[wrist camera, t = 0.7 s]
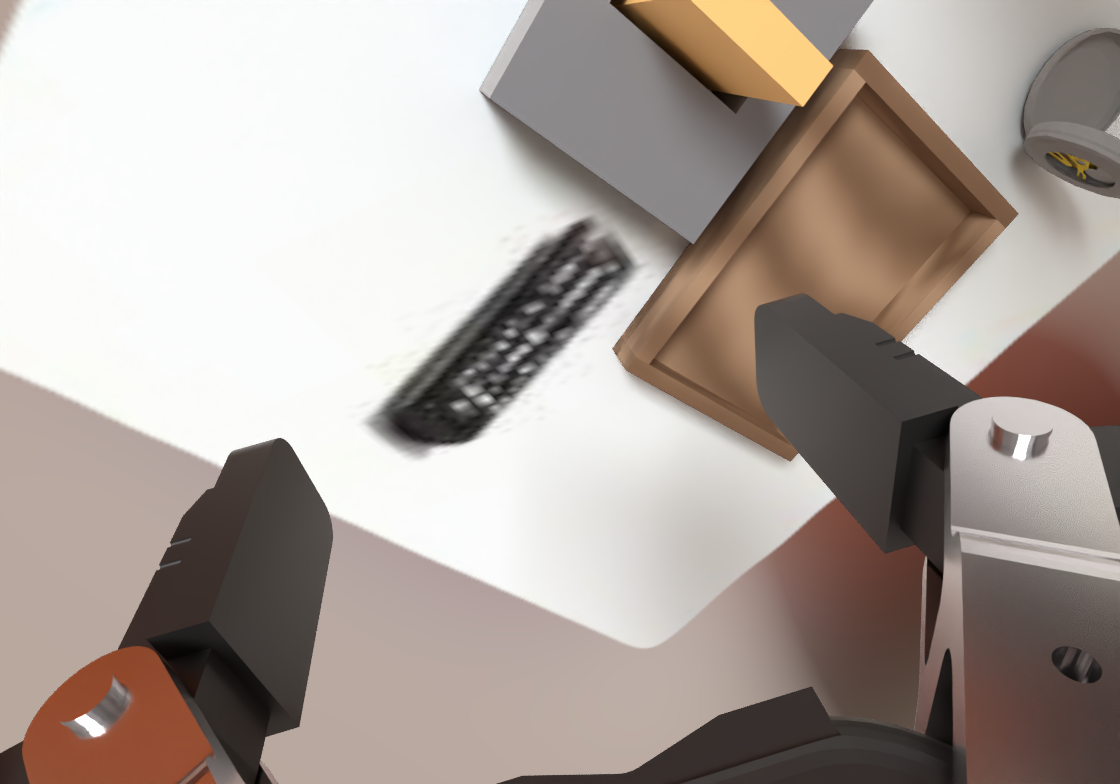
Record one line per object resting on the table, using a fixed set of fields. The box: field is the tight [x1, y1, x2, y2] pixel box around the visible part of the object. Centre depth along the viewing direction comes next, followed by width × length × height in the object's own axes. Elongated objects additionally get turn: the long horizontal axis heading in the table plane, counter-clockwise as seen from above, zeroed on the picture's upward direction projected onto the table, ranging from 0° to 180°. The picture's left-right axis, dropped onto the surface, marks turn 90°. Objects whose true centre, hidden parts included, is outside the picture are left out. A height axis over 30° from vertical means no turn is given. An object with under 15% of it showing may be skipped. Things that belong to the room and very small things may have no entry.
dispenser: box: [479, 0, 873, 244], centre depth 28 cm, size 14×12×5 cm
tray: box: [612, 49, 1018, 461], centre depth 37 cm, size 20×15×3 cm
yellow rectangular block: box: [610, 0, 833, 107], centre depth 25 cm, size 2×6×10 cm, turn 55°
